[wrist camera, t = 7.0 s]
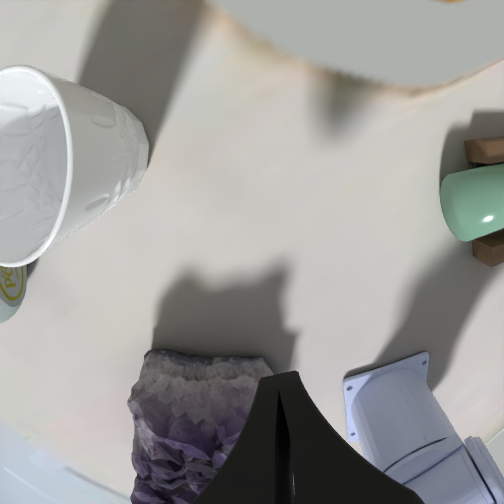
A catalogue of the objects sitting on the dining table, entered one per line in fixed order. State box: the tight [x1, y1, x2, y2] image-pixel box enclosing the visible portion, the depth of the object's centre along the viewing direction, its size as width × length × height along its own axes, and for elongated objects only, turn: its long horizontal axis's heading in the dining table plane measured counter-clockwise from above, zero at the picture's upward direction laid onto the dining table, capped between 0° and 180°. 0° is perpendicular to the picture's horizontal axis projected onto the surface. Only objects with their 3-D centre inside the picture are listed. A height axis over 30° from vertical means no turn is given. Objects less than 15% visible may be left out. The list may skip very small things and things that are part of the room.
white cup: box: [0, 65, 149, 267], centre depth 13 cm, size 8×8×10 cm
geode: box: [127, 349, 275, 504], centre depth 21 cm, size 20×12×10 cm, turn 160°
